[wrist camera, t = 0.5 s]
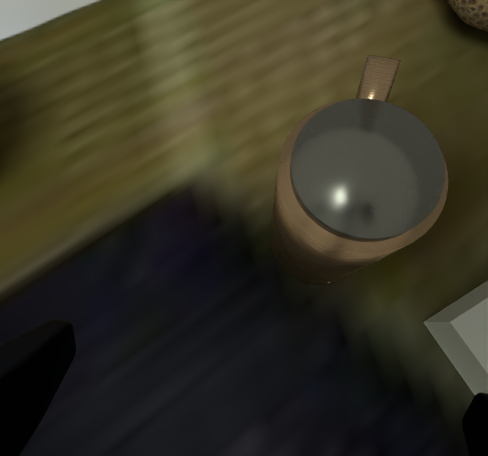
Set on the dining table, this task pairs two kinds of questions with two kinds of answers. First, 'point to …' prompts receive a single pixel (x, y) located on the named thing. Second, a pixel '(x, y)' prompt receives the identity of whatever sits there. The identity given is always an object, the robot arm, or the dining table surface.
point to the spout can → (355, 183)
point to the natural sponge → (472, 12)
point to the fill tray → (465, 336)
